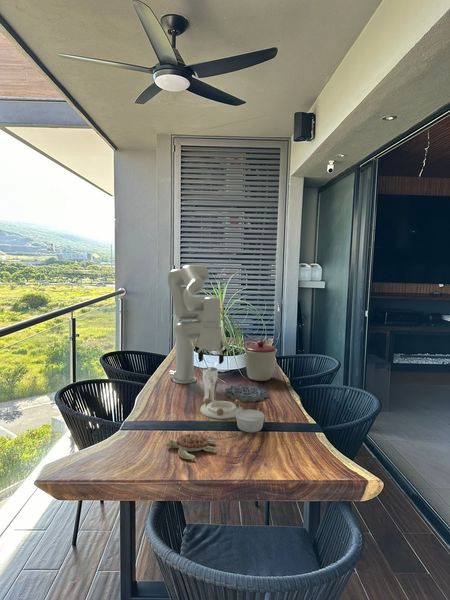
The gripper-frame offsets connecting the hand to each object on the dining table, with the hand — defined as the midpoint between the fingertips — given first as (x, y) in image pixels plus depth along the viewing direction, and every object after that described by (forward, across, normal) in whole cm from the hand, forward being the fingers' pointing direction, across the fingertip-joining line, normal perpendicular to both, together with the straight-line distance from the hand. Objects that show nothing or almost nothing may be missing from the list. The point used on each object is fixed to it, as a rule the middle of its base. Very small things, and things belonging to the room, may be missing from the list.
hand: (210, 362), depth 178 cm
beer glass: (+18, 0, 0) cm, 18 cm away
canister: (+18, +12, +45) cm, 50 cm away
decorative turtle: (+20, +10, -44) cm, 50 cm away
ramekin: (+19, +24, -20) cm, 37 cm away
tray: (+18, +8, -8) cm, 22 cm away
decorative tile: (+19, +12, +16) cm, 27 cm away
